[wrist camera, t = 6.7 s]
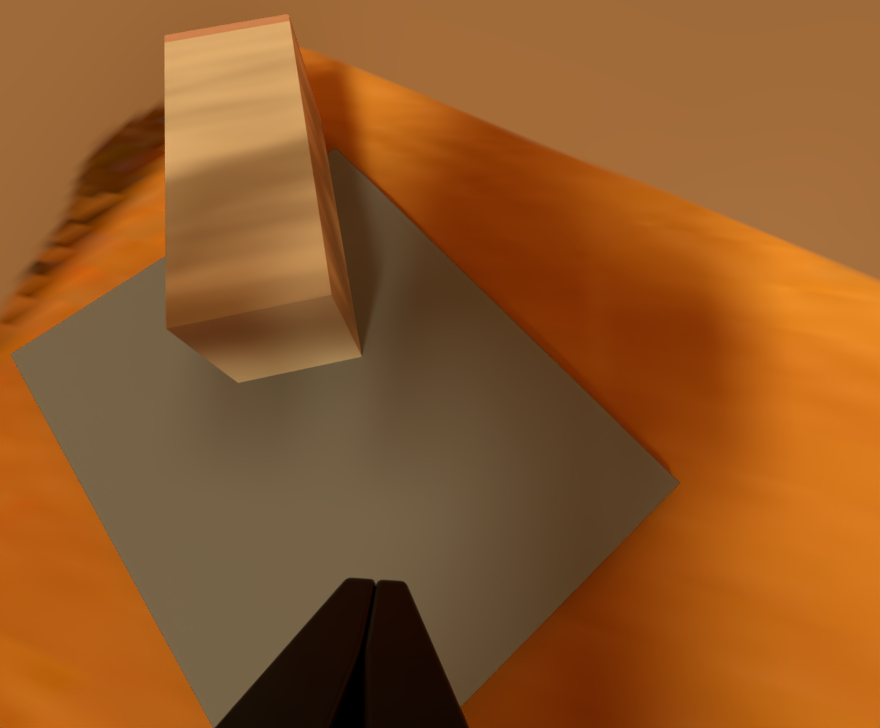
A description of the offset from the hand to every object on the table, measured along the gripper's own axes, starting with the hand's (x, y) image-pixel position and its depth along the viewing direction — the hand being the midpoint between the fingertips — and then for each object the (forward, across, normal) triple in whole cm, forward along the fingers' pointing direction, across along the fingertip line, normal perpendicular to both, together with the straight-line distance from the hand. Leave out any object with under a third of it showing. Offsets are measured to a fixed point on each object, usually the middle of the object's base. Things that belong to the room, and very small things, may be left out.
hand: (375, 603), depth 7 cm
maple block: (+9, +4, -1) cm, 10 cm away
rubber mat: (+10, +3, +2) cm, 11 cm away
